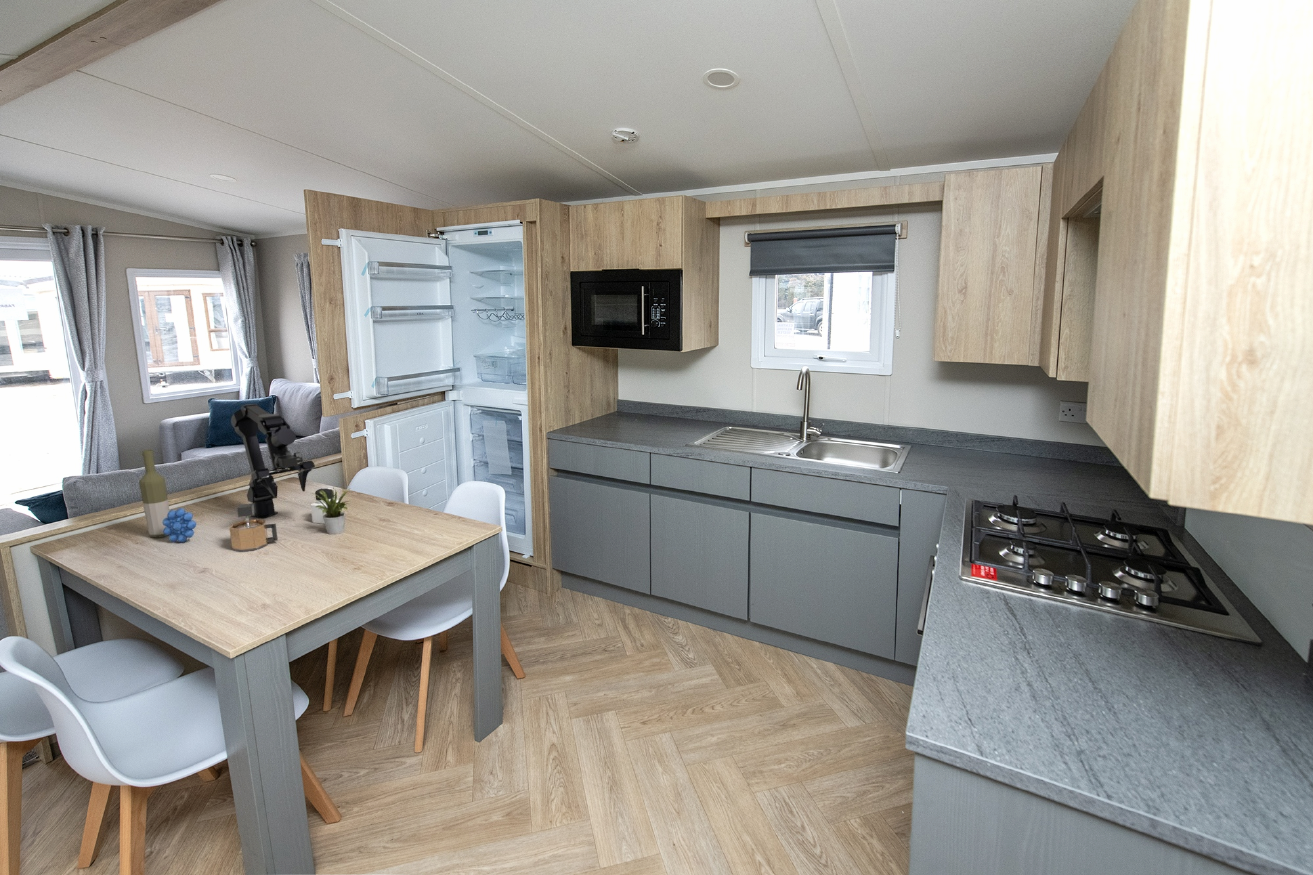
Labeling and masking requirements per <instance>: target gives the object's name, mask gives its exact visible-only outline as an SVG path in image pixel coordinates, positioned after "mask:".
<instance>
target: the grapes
mask: <svg viewBox="0 0 1313 875" xmlns="http://www.w3.org/2000/svg"><path fill="white" fill-rule="evenodd" d="M193 518H194V514H193V513H191V512H190V511H186V509H184V508H182V507H180V508H177V509H176V510H175V509H173V510H172V509H171V510H169V512H168V514H167V518H164V520H163V522H162V523H163V525H164V526H167V527H165V528H164V530H163V533H164V534H165V535H167V536H169V537H168V540H169V541H170V542H176V541H177V542H179V543H182V544H183V543H185V542H186V541H187V539H190V538H193V537H194V534H195V531H194V530H195V529H196V527H197V522H196V521H195V520H192V519H193Z"/></svg>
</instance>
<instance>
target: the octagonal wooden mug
mask: <svg viewBox="0 0 1313 875" xmlns="http://www.w3.org/2000/svg"><path fill="white" fill-rule="evenodd" d="M249 523H260V524H261V525H258V526H256V527H253V528H245V529H236V527H237V526H240V525H243V524H246V519H245V520H240V521H238V522H235V523H232V524H231V525H230V527H229V534H230V541H231V548H232V550H233V551H234V552H238V553H245V552H253V551H257V549H258V550H261V549H263V548H265V547H267V546H268V545H269V543H270V542H277V541H278V540H279V539H278V532H277V531H278V529H277V523H270V524H269V523H268V524H267V521H266V519H261V518H256V519H255V518H253V519H249ZM267 529H271V534H272V536H271V537H268V530H267Z"/></svg>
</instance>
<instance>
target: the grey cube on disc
mask: <svg viewBox="0 0 1313 875" xmlns="http://www.w3.org/2000/svg"><path fill="white" fill-rule="evenodd" d="M236 509H237V517H238V518H241V517H242V518H243V517H244V518H245V520H246V524H243V525H240V526H237V527H236V529H245V528H253V527H256V526H258V525H261V524H260V523H249V520H250V519H249V517H251V516H253V514H254V512H255V511H254V504H253V503H251V502H250V503H242V504H238V506H237V508H236Z"/></svg>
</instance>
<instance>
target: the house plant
mask: <svg viewBox="0 0 1313 875" xmlns="http://www.w3.org/2000/svg"><path fill="white" fill-rule="evenodd" d="M334 488H335V487H332V489H333V490H334ZM350 489H352V488H351V487H350V488H348V489H346V490H345V491H344V492H343V493H342V494H341V496H339V498H338V492H339V490H337V489H335V490H334V497H333V490H332V497H333V498H332V499H330V501H329V499H328V497H327V495H326V493H325V492H324V491H323V492H324V494H325V495H324V494H323V493H322V492H320V493H321V494H322V496H323V497H324V498H325V499H324V498H322V497H319V496H318V495H317V496H318V498H320V499H321V500H322V501H323V502H324V503H325V504H326V505H327V507H328V508H329V509H327V507H326V506H325V505H324V504H323V503H322V502H321V501H320V500H318V501H319V502H321V503H322V504H323V506H322V505H318V506H316V507H320V508H318V509H321V510H323V509H324V510H323V513H324V512H326V513H327V514H325V515H324V516H323V519H324V522H325V524H324V525H325V529H326V531H327V534H328V535H339V534H342V533H344V532H345V524H346V523H345V522H346V512H344V511H343V509H345V510H346V511H348V507H347V506H346V505H347V504H350V503H349V502H350V500H349V501H348V500H347V501H342V499H343V498H344V497H345V496H346V495H347V493H348V491H349V490H350ZM321 491H322V490H321ZM311 494H312V495H316V494H315V492H311ZM316 498H317V497H316V496H315V497H314V499H316ZM337 500H339V501H338V503H337V505H336V501H337ZM340 502H341V503H340Z"/></svg>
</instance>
